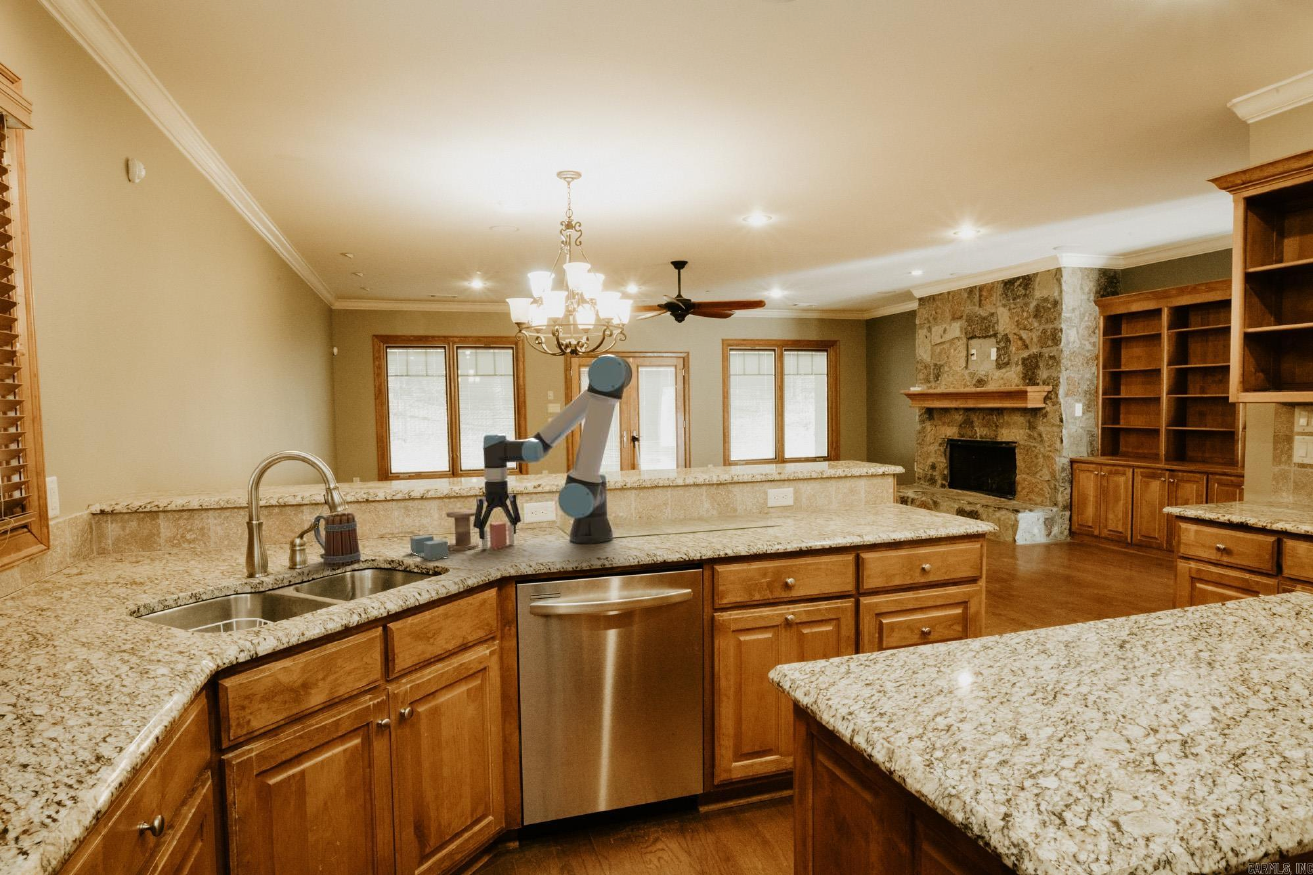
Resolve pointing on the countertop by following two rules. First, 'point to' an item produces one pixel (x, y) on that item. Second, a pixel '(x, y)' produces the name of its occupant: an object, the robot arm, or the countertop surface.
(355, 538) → the mug
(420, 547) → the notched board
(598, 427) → the robot arm
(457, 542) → the bobbin
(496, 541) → the red rectangular block
